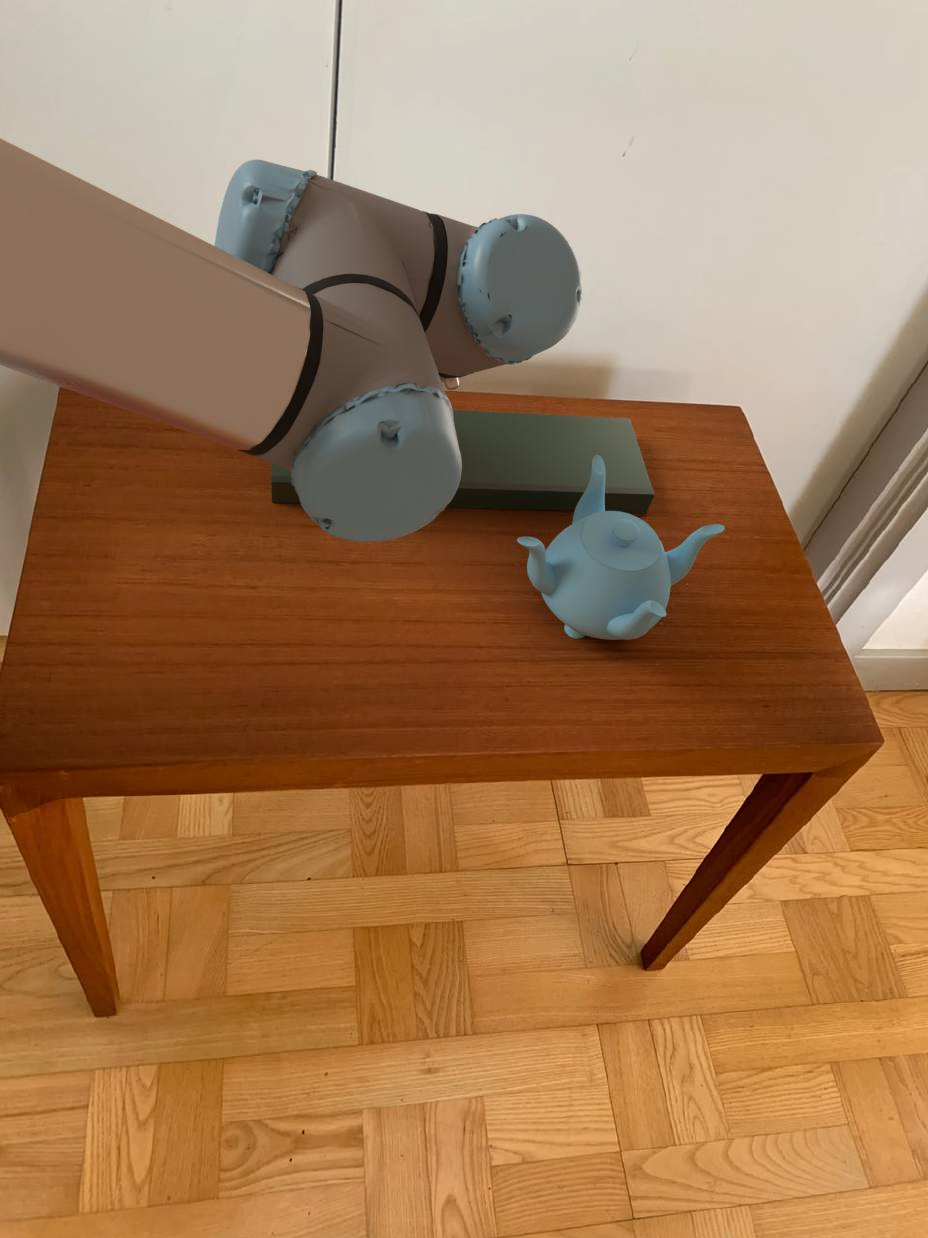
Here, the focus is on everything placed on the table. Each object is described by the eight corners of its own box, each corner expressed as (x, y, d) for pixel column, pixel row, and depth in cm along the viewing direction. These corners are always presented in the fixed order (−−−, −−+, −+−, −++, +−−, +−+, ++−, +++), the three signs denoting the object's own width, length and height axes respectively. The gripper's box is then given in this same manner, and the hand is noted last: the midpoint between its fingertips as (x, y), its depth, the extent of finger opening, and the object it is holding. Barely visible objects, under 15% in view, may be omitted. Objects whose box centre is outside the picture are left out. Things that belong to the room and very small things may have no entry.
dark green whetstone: (271, 502, 84) (271, 481, 82) (273, 420, 90) (272, 399, 88) (646, 513, 91) (655, 494, 89) (623, 436, 97) (630, 417, 95)
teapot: (687, 601, 85) (729, 525, 77) (621, 695, 77) (660, 622, 69) (567, 530, 88) (596, 450, 80) (493, 614, 80) (516, 535, 72)
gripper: (293, 421, 60) (215, 446, 80) (554, 355, 69) (424, 392, 89) (259, 303, 59) (188, 359, 79) (530, 251, 67) (403, 313, 87)
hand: (313, 377), depth 84 cm, fingers closed on pill bottle, 8 cm apart
